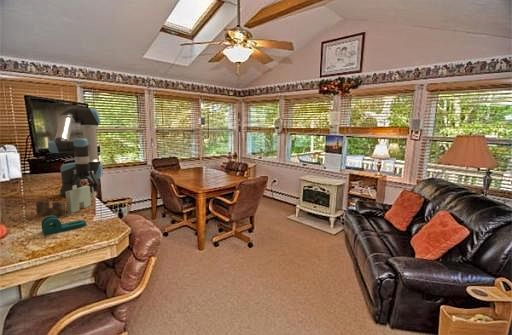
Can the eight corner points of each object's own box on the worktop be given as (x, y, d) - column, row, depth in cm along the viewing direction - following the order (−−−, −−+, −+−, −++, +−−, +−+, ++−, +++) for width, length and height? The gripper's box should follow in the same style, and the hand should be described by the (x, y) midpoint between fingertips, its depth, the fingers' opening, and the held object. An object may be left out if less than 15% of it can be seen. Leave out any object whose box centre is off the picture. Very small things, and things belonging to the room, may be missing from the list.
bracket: (44, 236, 126) (43, 220, 125) (42, 232, 130) (40, 217, 129) (87, 226, 139) (86, 212, 138) (84, 223, 143) (83, 209, 142)
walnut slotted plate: (37, 214, 153) (35, 201, 152) (41, 213, 155) (39, 200, 154) (62, 216, 151) (60, 203, 150) (65, 215, 154) (64, 202, 152)
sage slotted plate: (71, 213, 158) (69, 192, 155) (67, 212, 158) (65, 191, 156) (91, 205, 173) (89, 186, 171) (87, 205, 174) (85, 185, 171)
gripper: (59, 163, 164) (62, 196, 167) (96, 164, 161) (98, 198, 164) (69, 161, 171) (71, 193, 174) (104, 163, 168) (106, 195, 171)
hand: (84, 195), depth 169 cm, fingers open, 13 cm apart
